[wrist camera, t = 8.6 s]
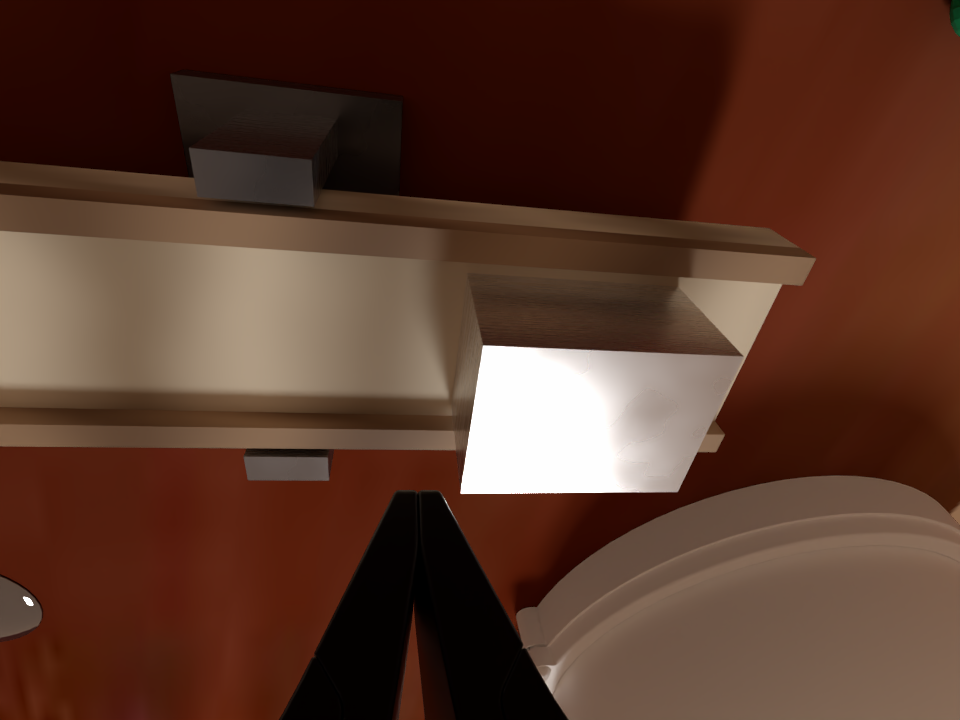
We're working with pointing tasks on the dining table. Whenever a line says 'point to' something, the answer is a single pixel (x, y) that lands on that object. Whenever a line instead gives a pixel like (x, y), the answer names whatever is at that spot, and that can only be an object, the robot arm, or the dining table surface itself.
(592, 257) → the beam
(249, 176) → the pivot stand
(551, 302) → the steel block
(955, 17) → the decorative model
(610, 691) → the dome cover
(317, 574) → the dining table surface
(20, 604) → the wine glass
